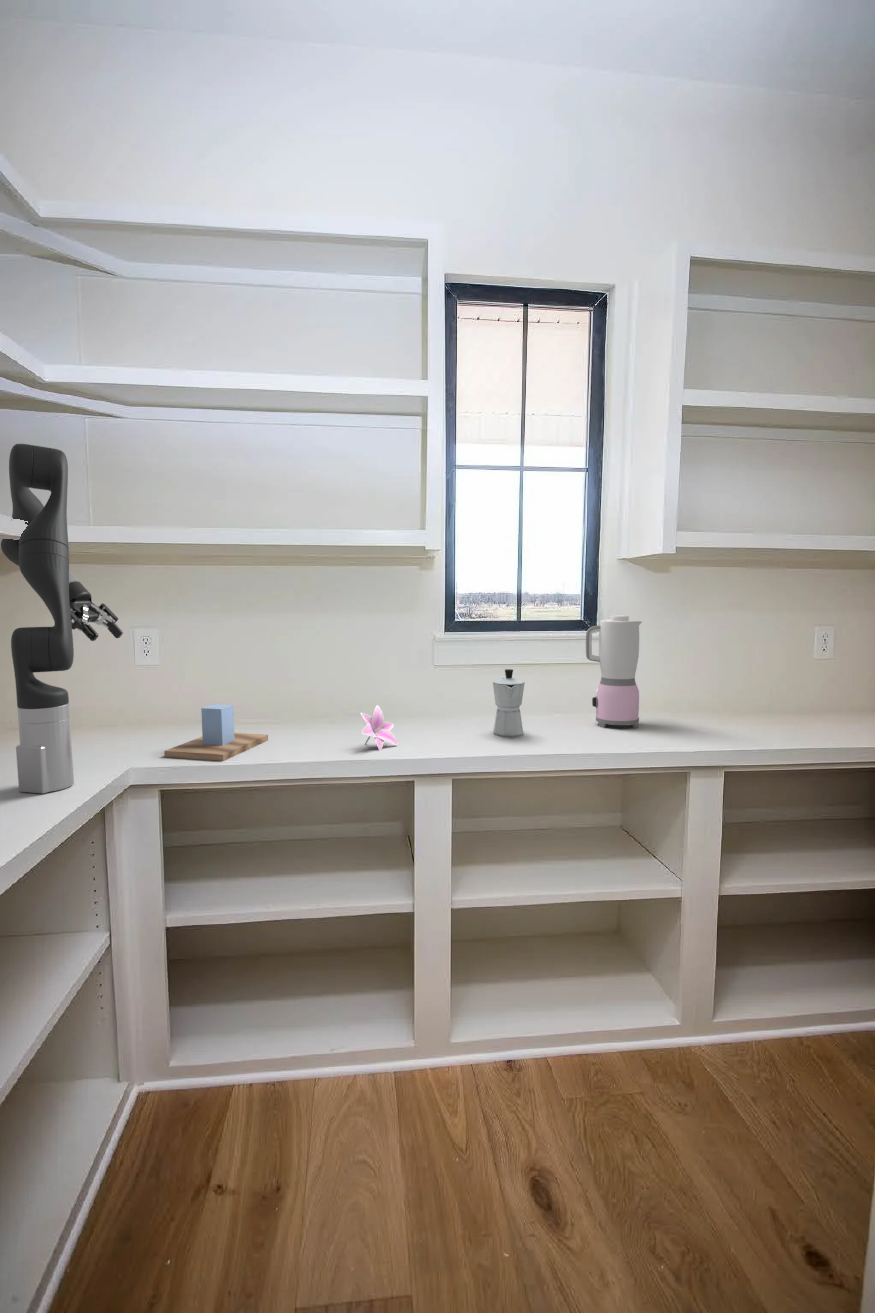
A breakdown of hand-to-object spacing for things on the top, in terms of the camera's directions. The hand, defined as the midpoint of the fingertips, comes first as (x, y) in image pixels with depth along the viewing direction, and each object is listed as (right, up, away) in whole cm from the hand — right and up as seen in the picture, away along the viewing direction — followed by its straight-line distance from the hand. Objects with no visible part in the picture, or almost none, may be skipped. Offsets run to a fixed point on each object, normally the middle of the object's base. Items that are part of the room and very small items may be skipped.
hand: (108, 637), depth 171 cm
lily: (+66, -28, +6) cm, 72 cm away
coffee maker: (+101, -26, +21) cm, 107 cm away
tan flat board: (+26, -28, +5) cm, 39 cm away
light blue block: (+26, -27, +5) cm, 38 cm away
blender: (+133, -25, +31) cm, 139 cm away
